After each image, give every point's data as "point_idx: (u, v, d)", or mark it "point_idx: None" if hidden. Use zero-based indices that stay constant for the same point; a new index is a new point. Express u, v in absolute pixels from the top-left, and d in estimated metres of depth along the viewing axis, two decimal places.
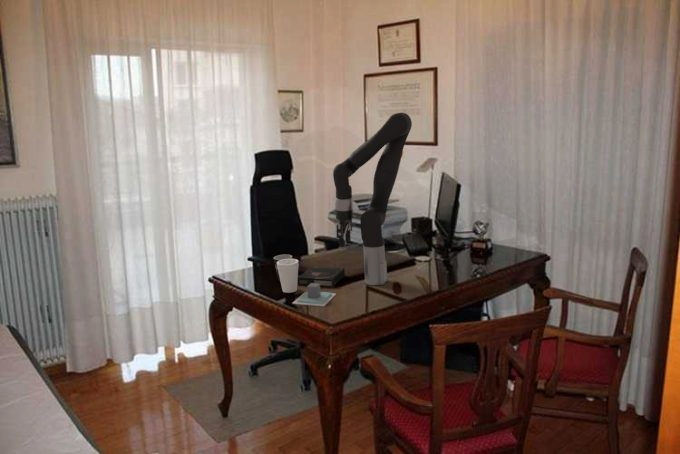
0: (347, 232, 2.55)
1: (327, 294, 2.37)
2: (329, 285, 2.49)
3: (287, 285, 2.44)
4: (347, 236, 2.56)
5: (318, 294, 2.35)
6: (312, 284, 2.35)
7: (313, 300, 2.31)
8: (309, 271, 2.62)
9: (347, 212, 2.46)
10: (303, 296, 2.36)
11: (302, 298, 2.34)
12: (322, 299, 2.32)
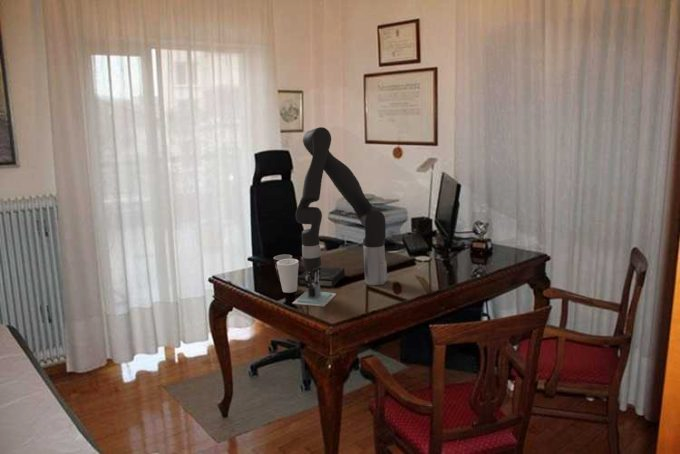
0: (315, 282, 2.36)
1: (327, 294, 2.37)
2: (329, 285, 2.49)
3: (287, 285, 2.44)
4: None
5: (318, 294, 2.35)
6: None
7: (313, 300, 2.31)
8: None
9: (314, 259, 2.28)
10: (303, 296, 2.36)
11: (302, 298, 2.34)
12: (322, 299, 2.32)
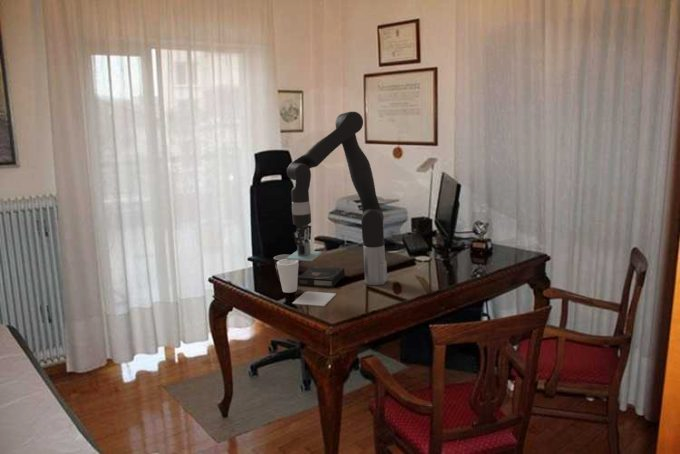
0: (305, 241, 2.36)
1: (317, 252, 2.36)
2: (329, 285, 2.49)
3: (287, 285, 2.44)
4: None
5: (308, 252, 2.34)
6: None
7: (303, 257, 2.30)
8: (309, 271, 2.62)
9: (304, 216, 2.28)
10: (293, 254, 2.35)
11: (291, 256, 2.33)
12: (312, 257, 2.31)
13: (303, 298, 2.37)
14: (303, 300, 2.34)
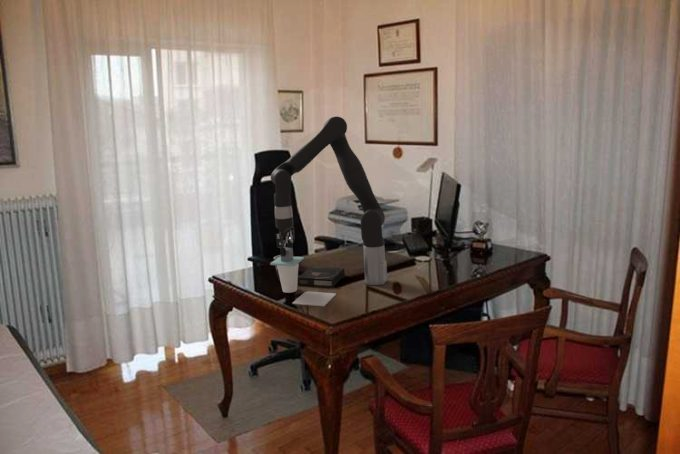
0: (289, 242, 2.47)
1: (299, 258, 2.47)
2: (329, 285, 2.49)
3: (287, 285, 2.44)
4: (289, 246, 2.47)
5: (291, 258, 2.44)
6: (285, 248, 2.45)
7: (285, 263, 2.41)
8: (309, 271, 2.62)
9: (286, 220, 2.38)
10: (276, 260, 2.46)
11: (275, 261, 2.44)
12: (294, 262, 2.41)
13: (303, 298, 2.37)
14: (303, 300, 2.34)
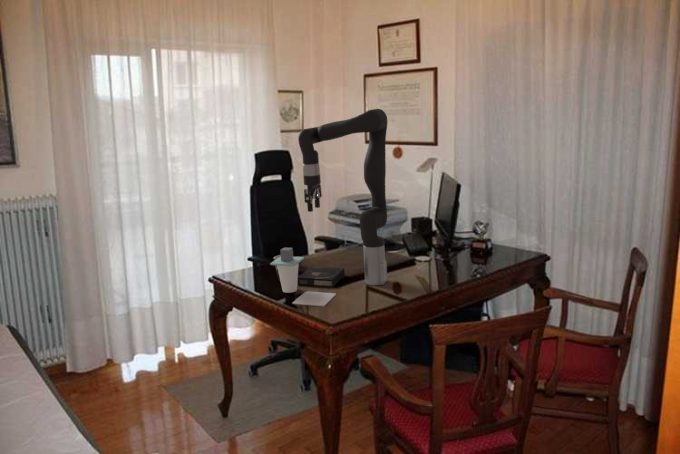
0: (316, 198, 2.59)
1: (299, 258, 2.47)
2: (329, 285, 2.49)
3: (287, 285, 2.44)
4: (316, 202, 2.59)
5: (291, 258, 2.44)
6: (285, 248, 2.45)
7: (285, 263, 2.41)
8: (309, 271, 2.62)
9: (314, 177, 2.49)
10: (276, 260, 2.46)
11: (275, 261, 2.44)
12: (294, 262, 2.41)
13: (303, 298, 2.37)
14: (303, 300, 2.34)
